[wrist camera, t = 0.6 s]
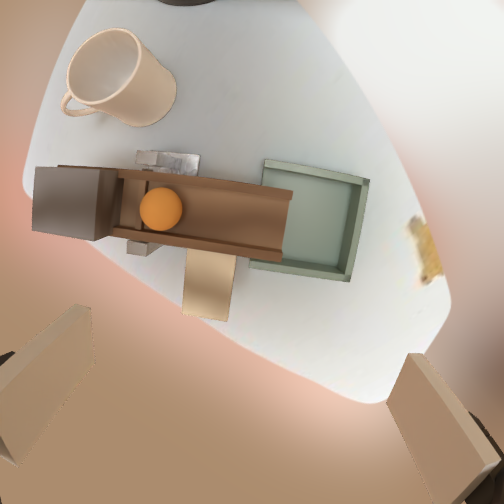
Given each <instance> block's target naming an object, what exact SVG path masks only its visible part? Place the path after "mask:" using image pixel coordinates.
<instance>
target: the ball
mask: <svg viewBox="0 0 504 504" xmlns="http://www.w3.org/2000/svg"><path fill="white" fill-rule="evenodd" d="M181 215H182V202H181V200H180V198H179V196H178V195H177V194H176V193H175V192H174V191H173V190H171V189H168V188H164V187H159V188H154V189H152V190H150V191H149V192H148V193H146V194H145V196H144V197H143V199H142V201H141V204H140V216H141V218H142V220H143V222H144V223H145V224H146V225H147V226H148V227H149V228H151V229H154V230H158V231H164V230H168V229H170V228H172V227H173V226H175V225H176V224H177V222H178V221H179V220H180V217H181Z"/></svg>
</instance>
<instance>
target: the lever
mask: <svg viewBox="0 0 504 504" xmlns="http://www.w3.org/2000/svg"><path fill="white" fill-rule="evenodd" d="M159 187H164V188H168V189H171V190H173V191H174V192H175V193H176V194H177V195H178V196H179V198H180V200H181V202H182V215H181V217H180V220H179V221H178V222H177V224H176V225H175V226H173V227H172V228H170V229H168V230H164V231H158V230H154V229H151V228H149V227H148V226H147V225H146V224H145V223H144V222H143V220H142V218H141V216H140V204H141V201H142V199H143V197H144V196H145V194H146V193H148V192H149V191H150V190H152V189H154V188H159ZM292 197H293V191H292V190H286V189H280V188H274V187H268V186H262V185H255V184H248V183H242V182H235V181H228V180H220V179H213V178H205V177H197V176H188V175H180V174H170V173H161V172H153V169H142V171H140V170H129V169H116V168H102V167H87V166H68V165H58V167H36V168H35V178H34V190H33V208H32V231H38V232H44V233H49V234H55V235H60V236H66V237H72V238H78V239H83V240H89V241H96V240H99V239H101V238H104V237H106V236H113V237H120V238H126V239H132V240H139V241H145V242H151V243H158V244H164V245H171V246H177V247H183V248H188V249H187V259H186V269H185V279H184V290H183V302H182V314H184V315H191V316H196V317H201V318H207V319H213V320H219V321H226V322H227V320H228V315H229V308H230V300H231V293H232V286H233V279H234V272H235V265H236V258H237V256H242V257H248V258H255V259H262V260H268V261H275V262H281V261H282V255H283V252H282V244H283V238H284V232H285V226H286V220H287V214H288V208H289V202H290V200H292Z"/></svg>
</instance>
